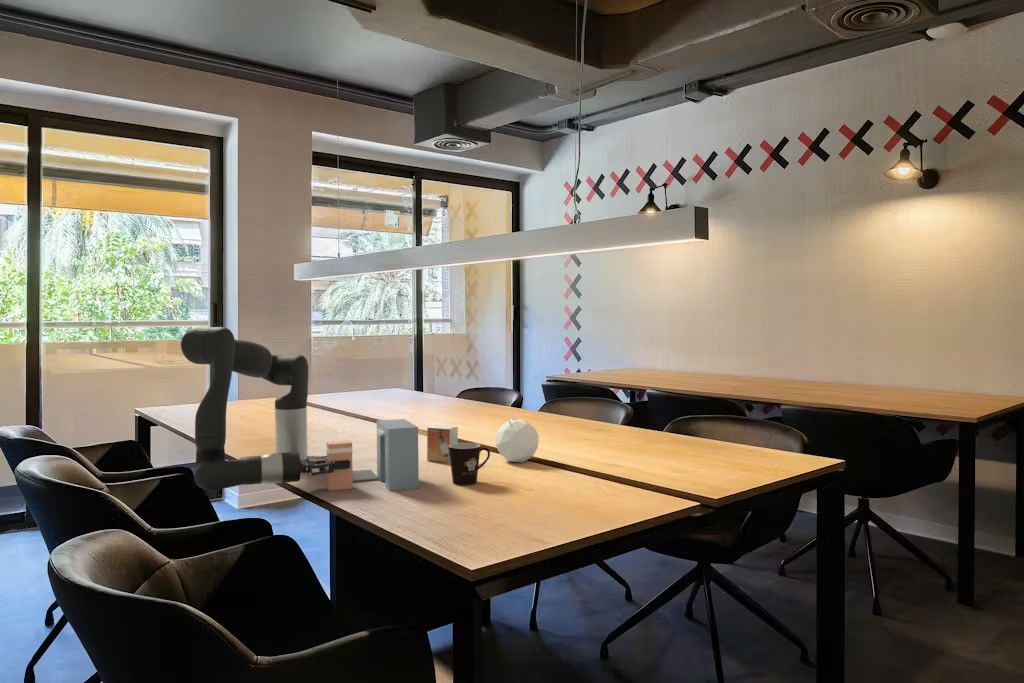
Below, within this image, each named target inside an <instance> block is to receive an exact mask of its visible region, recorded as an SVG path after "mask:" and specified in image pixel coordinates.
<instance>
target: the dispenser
mask: <svg viewBox="0 0 1024 683" xmlns="http://www.w3.org/2000/svg"><path fill="white" fill-rule="evenodd" d="M419 469H420V468H419V427H418V426H417V425H415V423H412V422H410V421H409V420H407V419H405V418H399V419H398V418H397V419H396V418H395V419H379V420H376V474H377V475H376V476H377V477H378V478H379V480H378V481H380V482H385V484H384V485H385V489H387V490H388V491H389V492H391V491H402V490H412V489H419V486H420V484H419V483H420V482H419V474H420V473H419Z"/></svg>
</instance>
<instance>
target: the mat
mask: <svg viewBox="0 0 1024 683" xmlns="http://www.w3.org/2000/svg"><path fill="white" fill-rule="evenodd" d="M371 481H372V482H373V481H380V480H379V478H378V477H377V475H376V473H375V472H374V471H373V470H372V469H363V470H353V483H361V482H371Z"/></svg>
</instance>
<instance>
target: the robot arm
mask: <svg viewBox="0 0 1024 683" xmlns="http://www.w3.org/2000/svg"><path fill="white" fill-rule="evenodd" d="M180 348H181V352H182V354H183V355H184V358H186V359H187V361H188V362H190V363H193V364H195V365H209V366H210V365H211V366H213V375H212V380H211V384H210V385H209V388H208V389H207V392H206V393H205V395H204V396H203V398H202V399H201V401H200V403H199V406H198V408H197V410H196V414H195V418H194V419H195V420H194V439H195V448H196V451H195V452H196V453H195V468H194V474H193V478H194V482H195V484H196V486H198V487H199V488H201V489H203V490H206V491H207V490H208V491H215V490H217V491H218V490H224V489H228V488H232V487H238V486H244V485H260V484H269V485H270V484H271V485H272V484H282V483H293V482H294V483H295V482H297V483H298V482H299V481H300V480H301V474H302V473H303V474H307V475H309V476H313V477H314V476H318V475H327V473H332V472H334V471H335V470H339V469H349V468H350V461H349V460H340V461H327V455H308V416H307V415H308V414H307V412H308V411H307V408H308V406H307V402H308V395H309V364H308V360H307V358H306V357H305V356H304V355H301V354H272V353H271V351H270V350H269V349H268V348H267V347H265V346H264V345H262V344H259V343H256V342H253V341H249V340H243V339H236V338H235V335H234V334H233V332H232V331H231V329H229V328H227V327H224V326H199V327H193V328H190V329H189V330H187V331H186V332H185V334H184V335H183V336H182V338H181V341H180ZM233 373H237V374H239V375H242V376H247V377H251V378H258V379H259V378H261V379H264V380H266V381H268V382H269V383H271V384H274V385H278V386H290V392H288V393H287V394H285V395H283V396H279V397H277V398H276V399H275V401H274V427H275V428H274V429H275V430H274V433H275V452H274V453H268V454H267V453H266V454H263V455H251V456H242V457H239V458H237V459H230V460H226V451H225V449H226V448H225V445H226V439H227V437H226V436H227V405H228V399H229V398H228V397H229V392H230V387H231V382H232V375H233ZM328 465H329V468H327V466H328Z"/></svg>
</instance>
